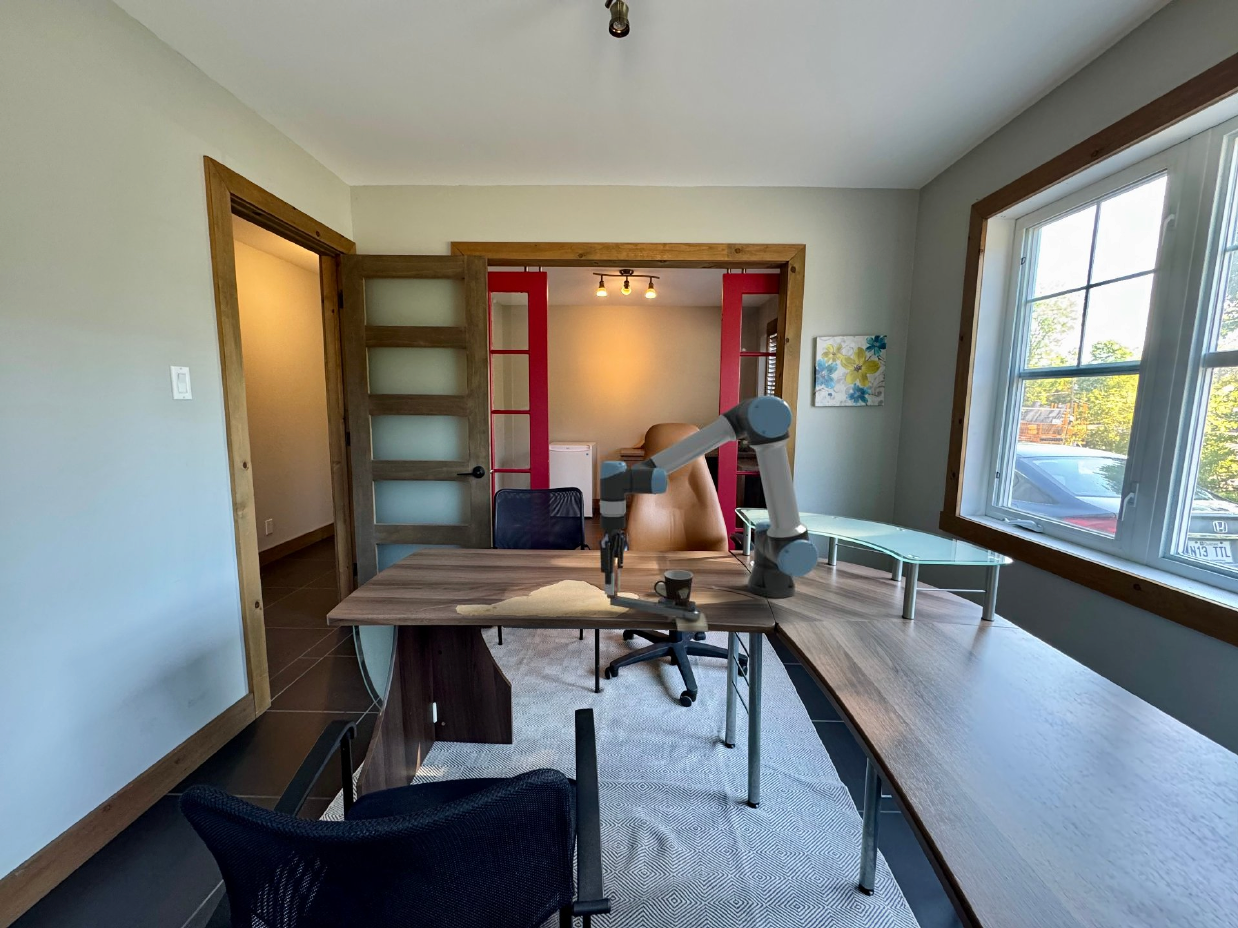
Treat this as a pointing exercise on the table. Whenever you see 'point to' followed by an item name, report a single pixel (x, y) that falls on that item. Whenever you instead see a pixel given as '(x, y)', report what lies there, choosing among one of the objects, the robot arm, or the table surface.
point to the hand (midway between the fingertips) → (612, 591)
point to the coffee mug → (677, 586)
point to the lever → (650, 602)
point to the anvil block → (660, 589)
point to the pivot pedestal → (692, 625)
